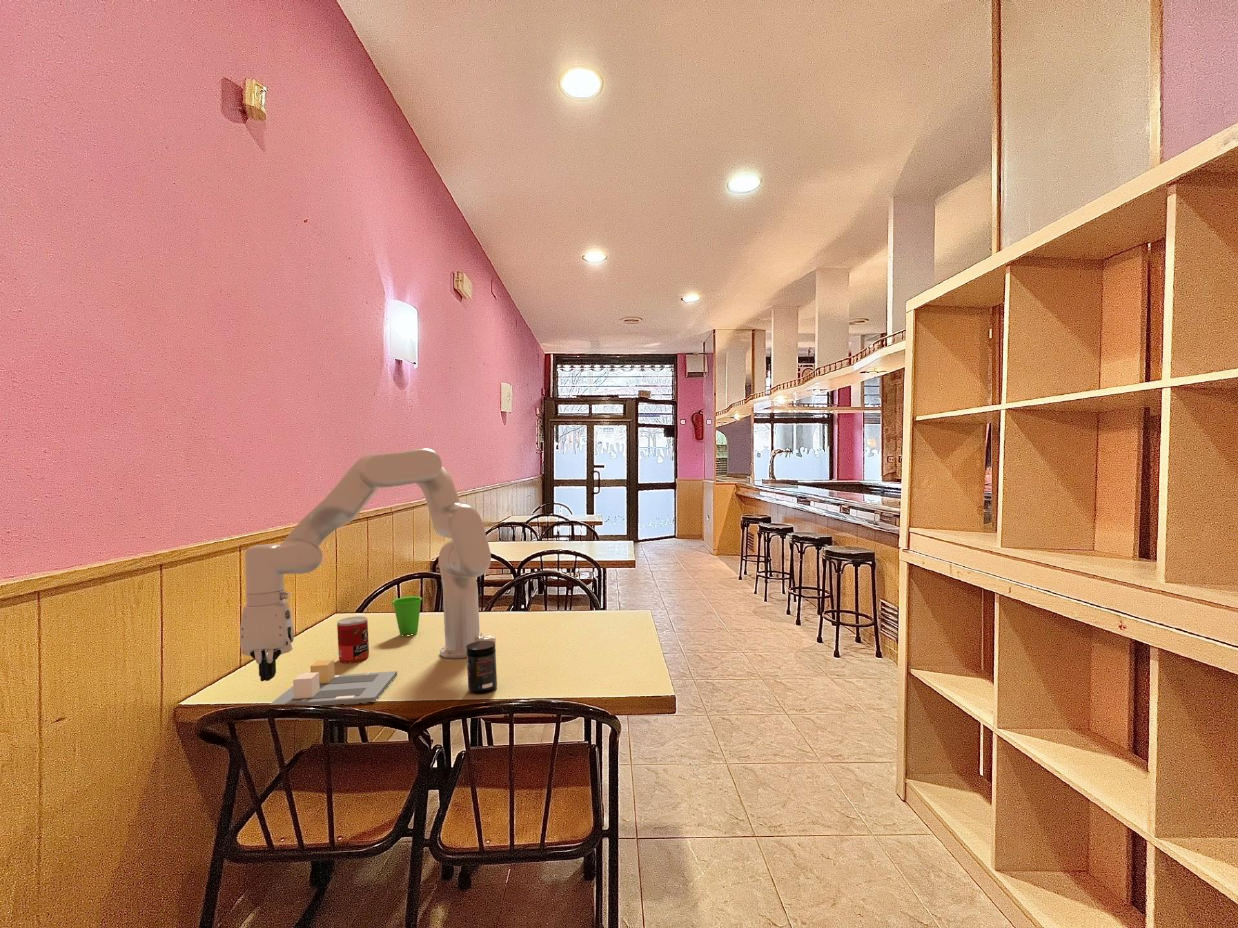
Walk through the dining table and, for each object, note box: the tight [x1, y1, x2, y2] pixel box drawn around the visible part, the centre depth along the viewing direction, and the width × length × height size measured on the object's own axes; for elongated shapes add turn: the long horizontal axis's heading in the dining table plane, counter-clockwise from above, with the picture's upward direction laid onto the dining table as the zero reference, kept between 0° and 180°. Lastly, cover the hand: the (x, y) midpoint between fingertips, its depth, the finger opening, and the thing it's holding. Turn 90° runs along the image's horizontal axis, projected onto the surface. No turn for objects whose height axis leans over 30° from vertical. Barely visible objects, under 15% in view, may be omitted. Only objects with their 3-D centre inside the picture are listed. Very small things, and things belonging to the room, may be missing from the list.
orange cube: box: [310, 659, 336, 684], centre depth 148 cm, size 4×4×4 cm
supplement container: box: [466, 641, 498, 695], centre depth 141 cm, size 7×7×10 cm
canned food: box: [336, 615, 370, 664], centre depth 168 cm, size 8×8×11 cm
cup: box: [391, 596, 423, 637], centre depth 191 cm, size 9×9×11 cm
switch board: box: [269, 670, 398, 706], centre depth 144 cm, size 23×17×1 cm
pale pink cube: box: [292, 672, 320, 699], centre depth 139 cm, size 4×4×4 cm
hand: (267, 678), depth 138 cm, fingers closed
